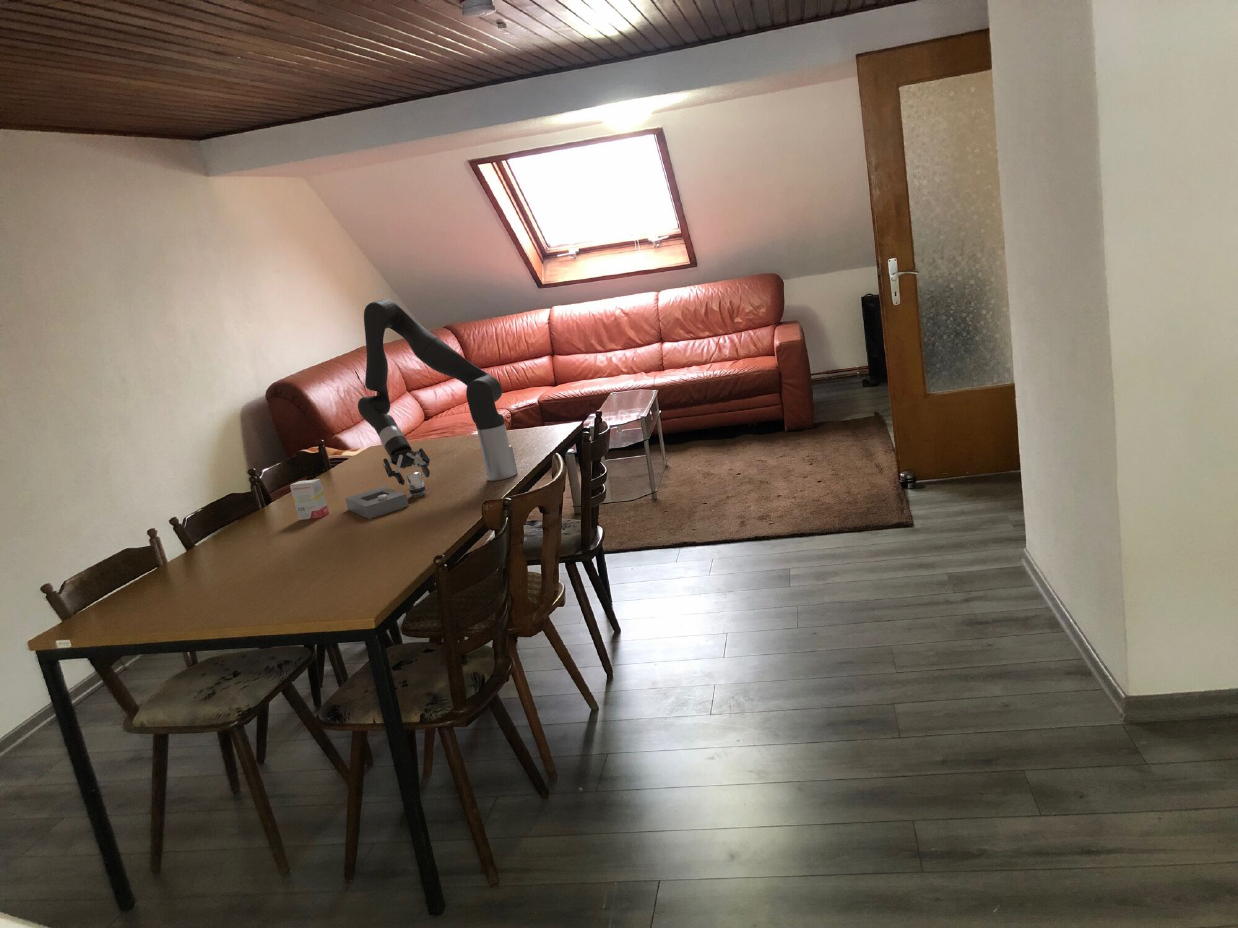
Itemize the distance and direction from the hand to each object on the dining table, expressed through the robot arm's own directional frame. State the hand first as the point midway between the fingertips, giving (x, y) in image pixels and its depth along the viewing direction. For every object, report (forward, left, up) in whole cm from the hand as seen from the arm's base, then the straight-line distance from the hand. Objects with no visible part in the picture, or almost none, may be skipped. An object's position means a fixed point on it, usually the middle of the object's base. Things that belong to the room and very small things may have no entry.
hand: (415, 479), depth 306 cm
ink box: (+30, -16, -6) cm, 34 cm away
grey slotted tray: (+14, -1, -5) cm, 15 cm away
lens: (0, -1, -5) cm, 5 cm away
